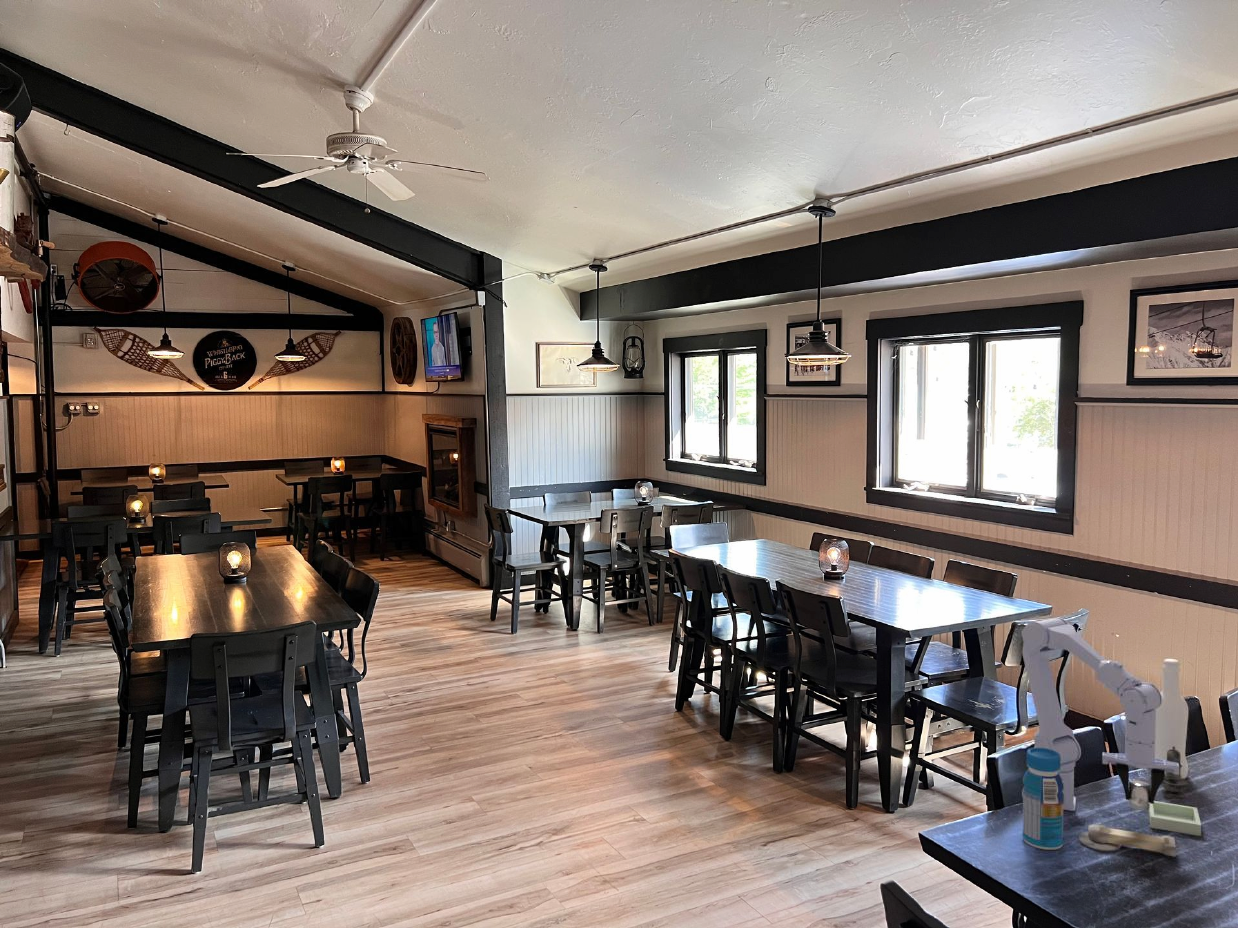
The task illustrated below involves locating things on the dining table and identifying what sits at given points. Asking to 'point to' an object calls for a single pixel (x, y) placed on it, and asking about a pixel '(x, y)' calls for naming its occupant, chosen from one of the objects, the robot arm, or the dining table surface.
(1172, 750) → the dark grey tiered tower
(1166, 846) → the beige flat bar
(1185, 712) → the bottle
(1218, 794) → the dining table surface
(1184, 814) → the tray
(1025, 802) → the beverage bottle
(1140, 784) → the piston stop
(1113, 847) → the crank base
